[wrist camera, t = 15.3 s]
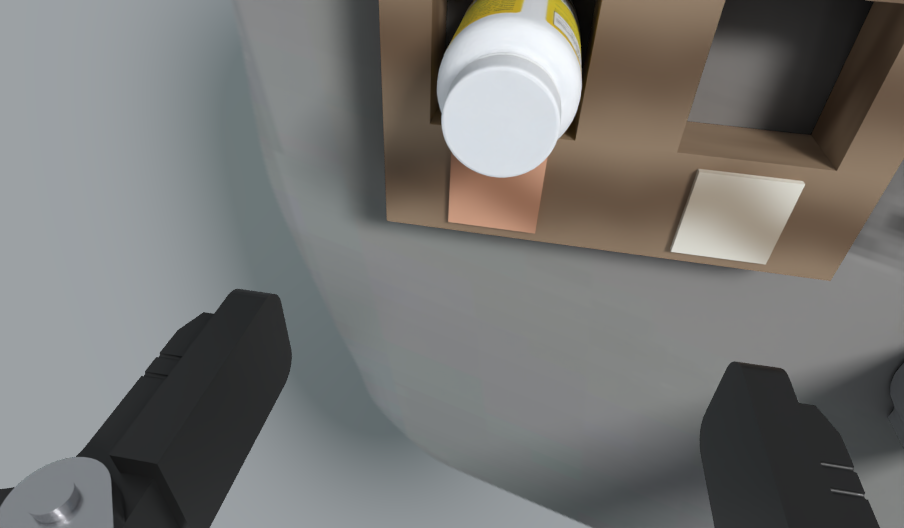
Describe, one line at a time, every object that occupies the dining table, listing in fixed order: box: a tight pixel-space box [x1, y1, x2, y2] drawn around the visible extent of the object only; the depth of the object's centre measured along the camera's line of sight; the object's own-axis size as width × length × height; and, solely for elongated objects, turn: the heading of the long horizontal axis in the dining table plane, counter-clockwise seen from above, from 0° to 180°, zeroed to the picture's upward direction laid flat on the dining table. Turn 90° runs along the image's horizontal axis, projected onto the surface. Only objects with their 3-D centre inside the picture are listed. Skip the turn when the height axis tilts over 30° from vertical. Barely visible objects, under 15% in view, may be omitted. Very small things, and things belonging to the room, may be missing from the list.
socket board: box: [379, 0, 904, 281], centre depth 26 cm, size 14×22×4 cm, turn 88°
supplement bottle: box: [437, 0, 582, 178], centre depth 23 cm, size 5×5×10 cm
